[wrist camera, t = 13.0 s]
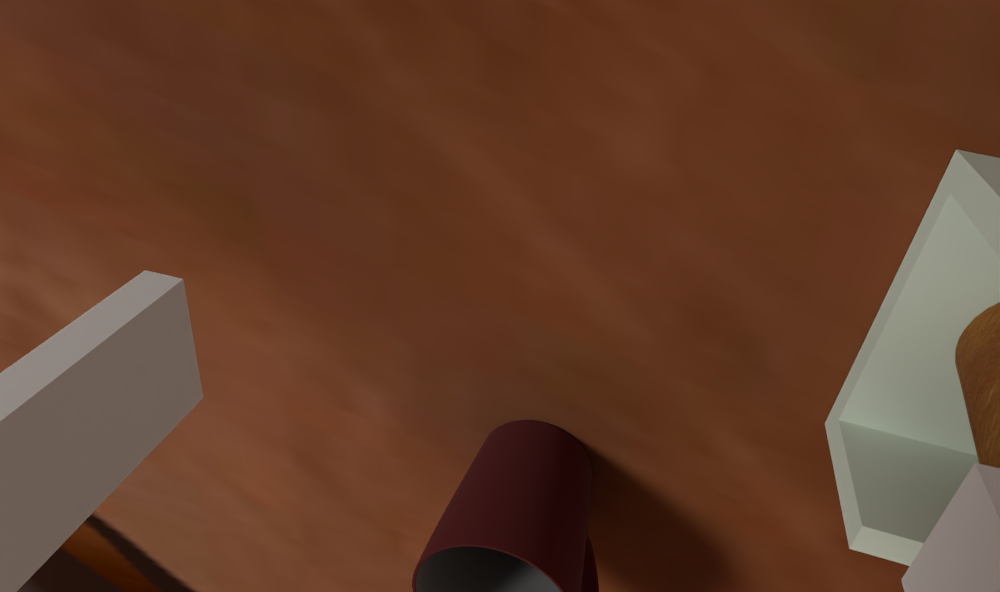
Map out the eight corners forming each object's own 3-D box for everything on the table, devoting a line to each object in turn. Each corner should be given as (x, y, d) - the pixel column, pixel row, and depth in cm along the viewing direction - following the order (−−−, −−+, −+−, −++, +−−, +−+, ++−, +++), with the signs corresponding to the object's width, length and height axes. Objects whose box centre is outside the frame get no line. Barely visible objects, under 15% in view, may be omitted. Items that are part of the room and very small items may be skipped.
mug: (661, 518, 46) (647, 675, 37) (558, 560, 51) (521, 709, 41) (544, 388, 44) (497, 521, 34) (445, 443, 48) (380, 575, 39)
